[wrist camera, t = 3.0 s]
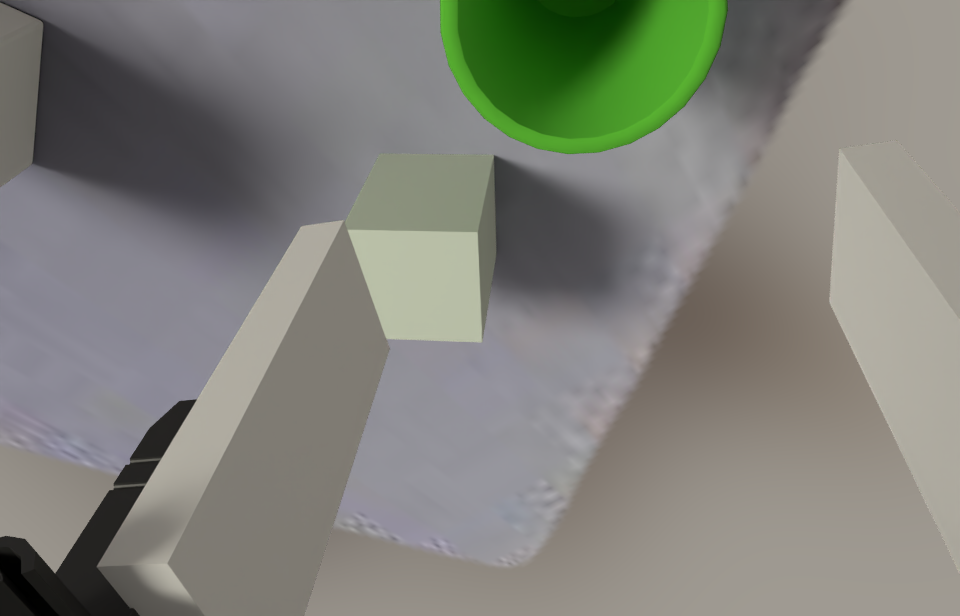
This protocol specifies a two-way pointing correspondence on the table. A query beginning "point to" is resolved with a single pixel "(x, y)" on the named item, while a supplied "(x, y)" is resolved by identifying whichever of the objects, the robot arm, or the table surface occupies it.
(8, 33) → the soap bottle
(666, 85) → the cup
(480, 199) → the sage block
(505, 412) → the table surface
